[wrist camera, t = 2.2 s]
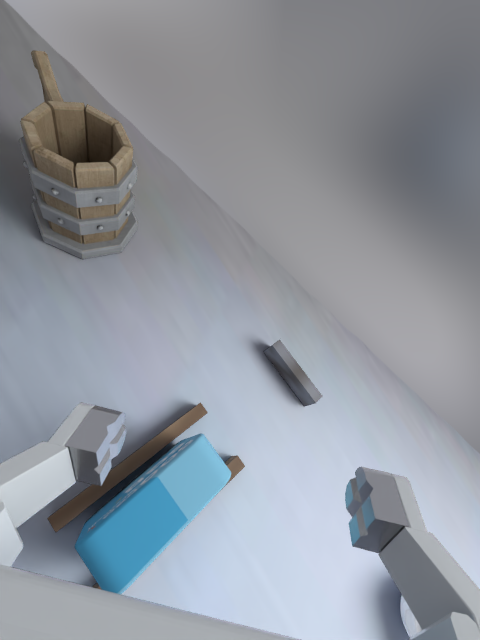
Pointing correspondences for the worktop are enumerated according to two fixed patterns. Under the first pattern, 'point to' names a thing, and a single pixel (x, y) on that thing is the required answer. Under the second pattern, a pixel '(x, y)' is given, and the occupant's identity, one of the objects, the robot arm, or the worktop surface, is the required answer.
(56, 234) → the tankard
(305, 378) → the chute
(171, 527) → the data package
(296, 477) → the worktop surface
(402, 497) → the robot arm
